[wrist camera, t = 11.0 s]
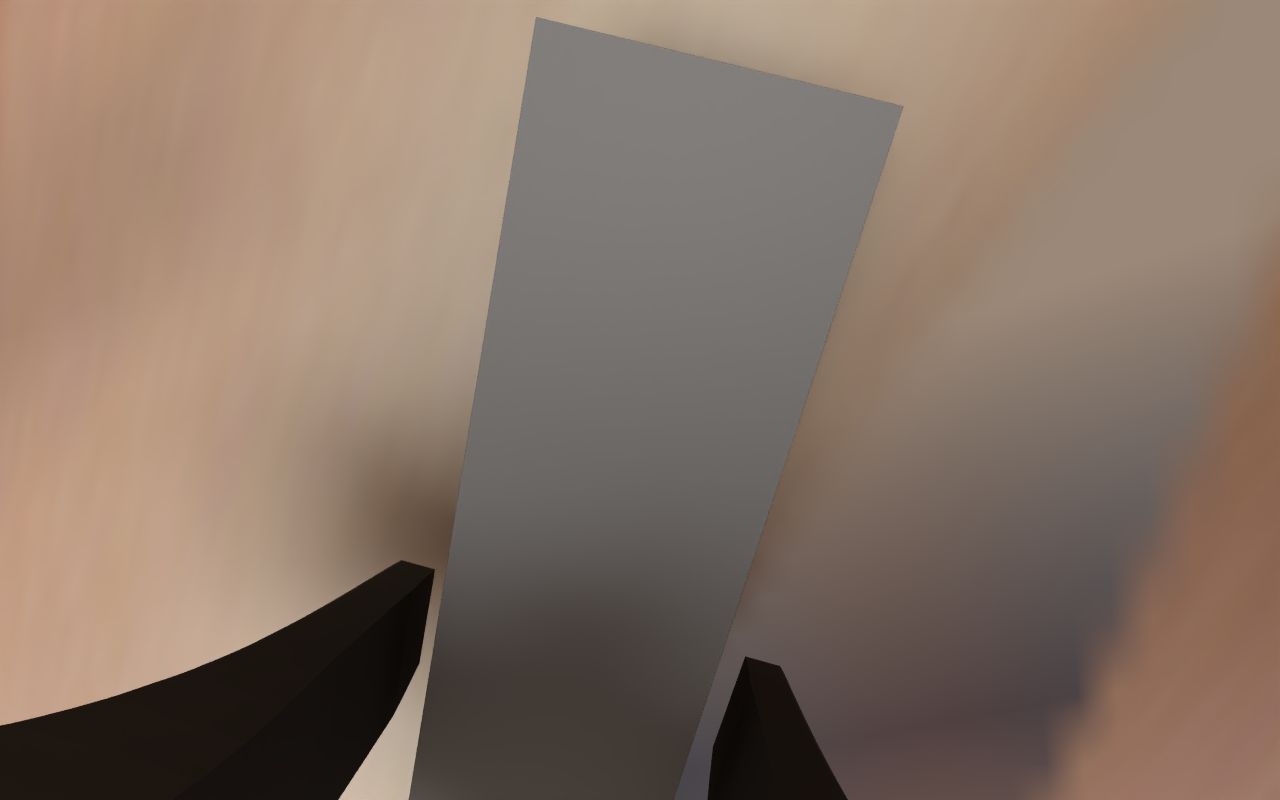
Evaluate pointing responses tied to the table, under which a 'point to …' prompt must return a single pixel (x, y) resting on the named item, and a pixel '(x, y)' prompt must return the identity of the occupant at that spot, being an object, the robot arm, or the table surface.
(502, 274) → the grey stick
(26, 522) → the table surface
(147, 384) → the table surface
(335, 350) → the table surface
